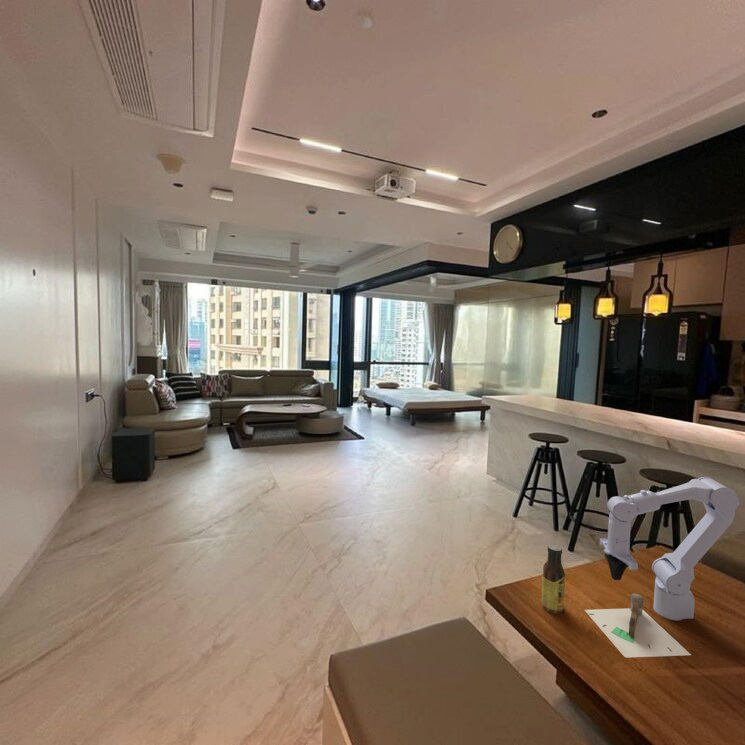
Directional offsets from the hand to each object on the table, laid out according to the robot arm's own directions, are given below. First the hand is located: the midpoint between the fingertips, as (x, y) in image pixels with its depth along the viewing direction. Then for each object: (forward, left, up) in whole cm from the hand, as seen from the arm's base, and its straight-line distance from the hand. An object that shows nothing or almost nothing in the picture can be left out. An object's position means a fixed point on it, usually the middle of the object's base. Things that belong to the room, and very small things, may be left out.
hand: (616, 578), depth 121 cm
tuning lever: (0, +9, -8) cm, 12 cm away
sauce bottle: (+20, 0, -10) cm, 22 cm away
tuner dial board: (+2, +11, -9) cm, 15 cm away
